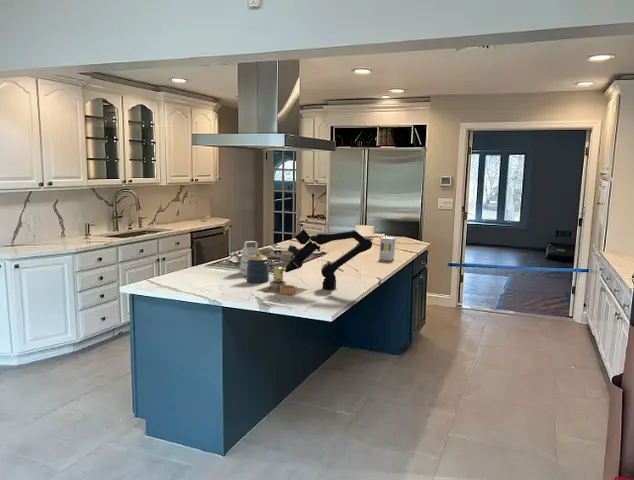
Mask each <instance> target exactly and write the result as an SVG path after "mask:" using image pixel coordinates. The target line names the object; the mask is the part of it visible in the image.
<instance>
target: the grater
mask: <svg viewBox="0 0 634 480" xmlns="http://www.w3.org/2000/svg"><path fill="white" fill-rule="evenodd" d="M248 243H255V245H254V246H253V247H251V246H250V247H248V245H247V244H248ZM243 246H244V247H242V251H241V252H242V253H241V259H240V266H239V274H240V275H241V274H242V275H244V276H246V277H247V265H248V264H247V261H248V260H249V259H248V258H249V257H250V256H252V255H256V253H257V252H260V249H259V248H258V246H259V243H258V242H257V241H255V240H253V241H252V240H249V241H248V240H246V241H244V244H243Z"/></svg>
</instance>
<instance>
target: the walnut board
mask: <svg viewBox="0 0 634 480" xmlns="http://www.w3.org/2000/svg"><path fill="white" fill-rule="evenodd" d="M308 290H309V288H302V287H297V288H296V293H295V294H281V293H280V289H272V288H271V287H270V285H268V286H264V287H262V288H260V289H256V291H257V292H263V293H269V294H277V295H284V296H289V297H294V296H296V295H300V294H302V293H304V292H306V291H308Z"/></svg>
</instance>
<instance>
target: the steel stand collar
mask: <svg viewBox="0 0 634 480" xmlns="http://www.w3.org/2000/svg"><path fill="white" fill-rule="evenodd" d="M282 285H287V282H286V281H285V280H283V283H274V280H272V281H271V280H270V281H269V286H270V287H271V288H272V289H280V286H282Z"/></svg>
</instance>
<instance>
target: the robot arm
mask: <svg viewBox="0 0 634 480" xmlns="http://www.w3.org/2000/svg"><path fill="white" fill-rule="evenodd" d="M294 239H295V240H296V241H297V242H298V243H299V244H300V245H303V247H300V248H298V247H297V246H295V245H293V244H289V247H288V249H287V252H289V253H292V254H291V256H290V261H288V263H287V265H286V266H285V273H289V272H292V271H294V270H298V269H301V268H302V266H303V263H305V260H306V259H308V258H309V257H310V256H311V255H312V254H313V253H315V251H318V252H320V251H321V245H324V244H328V243H330V242H333V241H340V240H341V241H342V240H348V239H354V240H355V241H357V243H356V245H355V246H354V247H353V248H352V249H350V250H348V251H347V252H346V253H344V254H343V255H341V256H339V258H337V259H336V260H334V261H332V262H330V261H327V262H326V263H325V264H322V267H321V269H320V272H321V275H322V277H324V278H323V281H322V289H323V290H327V291H335V290H336V291H338V290H337V289H338V288H337V279H336V278H337V277H336V274H335V273H336V272H337V270H338V269H339V268H340V267H342V266H344V264H346V263H348V262H349V261H351V260H352V259H353V258H354V257H356V256H357V255H359V254H361V253H364V252H367V251H369V250H370V249H372V247H373V241H372V240H371V239H370V238H369V237H365V236H363V235H361V234H360V233H359V232H358V231H357V230H355V229H352V230H348V231H341V232H340V231H339V232H334V233H332V232H331V233H328V232H317V233H316V234H314V235H309V233H308V232H307V231H306V229H304V228H302V230H300V231H299V232H298V233H297V234H295V235H294Z"/></svg>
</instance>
